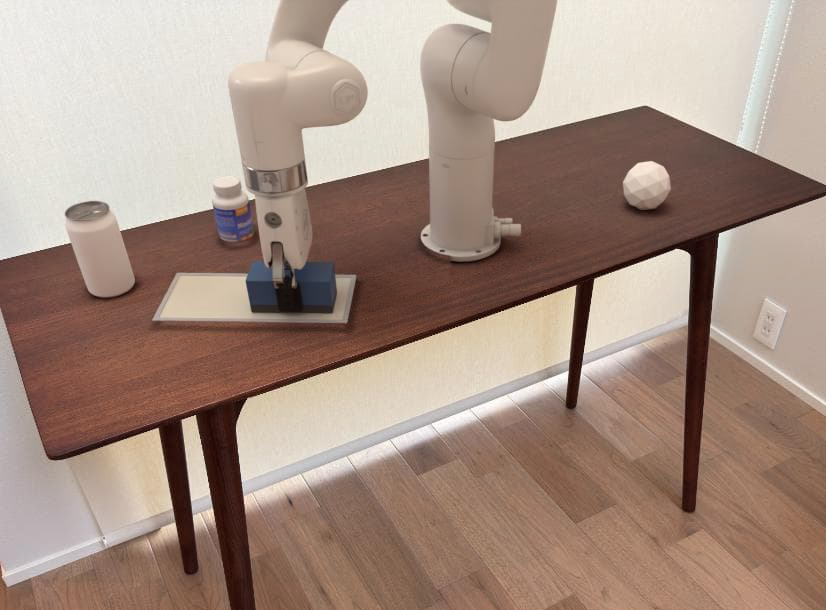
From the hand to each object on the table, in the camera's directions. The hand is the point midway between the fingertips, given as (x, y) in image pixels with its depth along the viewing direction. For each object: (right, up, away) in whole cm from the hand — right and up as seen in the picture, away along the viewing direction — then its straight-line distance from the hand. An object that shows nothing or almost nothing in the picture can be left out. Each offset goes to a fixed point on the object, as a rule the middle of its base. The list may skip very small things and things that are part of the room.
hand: (294, 297), depth 107 cm
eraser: (0, -1, +1) cm, 1 cm away
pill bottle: (-12, +11, +16) cm, 23 cm away
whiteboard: (-5, -1, +3) cm, 6 cm away
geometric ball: (+54, +19, +26) cm, 63 cm away
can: (-27, +2, +6) cm, 28 cm away
